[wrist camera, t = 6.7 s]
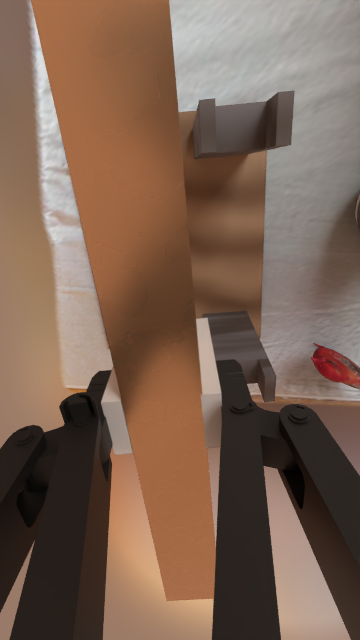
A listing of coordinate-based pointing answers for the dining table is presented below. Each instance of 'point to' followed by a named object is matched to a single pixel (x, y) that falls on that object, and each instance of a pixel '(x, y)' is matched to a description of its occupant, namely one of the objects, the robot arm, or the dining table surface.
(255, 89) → the dining table surface
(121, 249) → the copper rail
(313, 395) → the dining table surface
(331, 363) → the decorative bird figurine
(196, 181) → the rail stand
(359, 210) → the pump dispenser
